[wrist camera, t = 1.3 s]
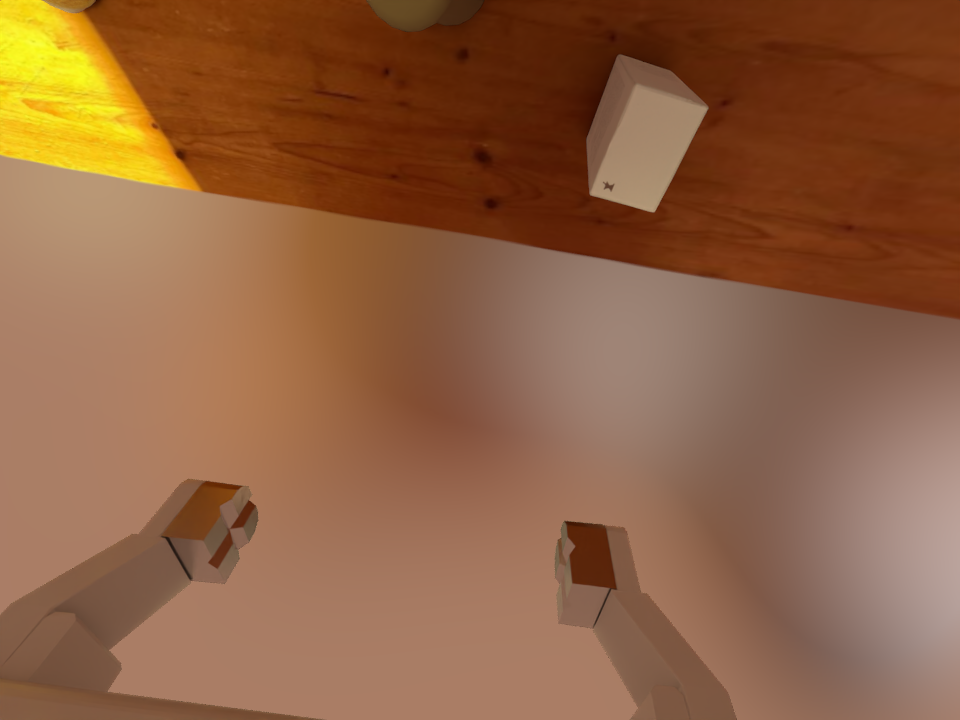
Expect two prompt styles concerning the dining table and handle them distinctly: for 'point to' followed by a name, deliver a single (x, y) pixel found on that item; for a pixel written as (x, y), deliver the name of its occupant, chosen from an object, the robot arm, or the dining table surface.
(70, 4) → the bread roll
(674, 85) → the skincare box
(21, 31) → the dining table surface
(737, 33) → the dining table surface
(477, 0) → the cork
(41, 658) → the robot arm
